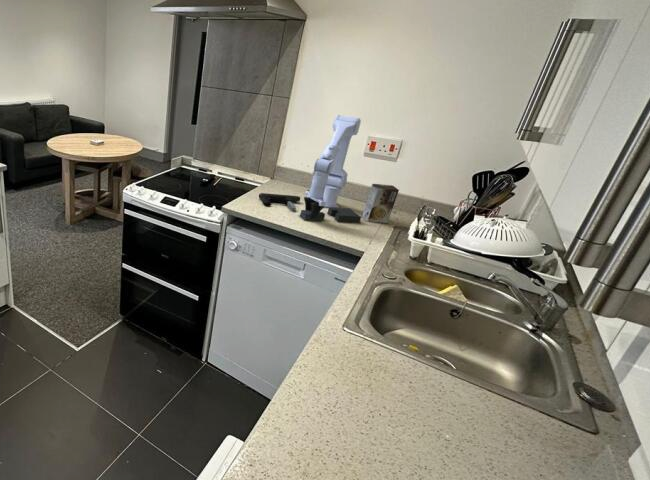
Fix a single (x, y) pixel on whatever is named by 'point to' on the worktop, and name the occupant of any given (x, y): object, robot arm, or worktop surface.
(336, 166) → the robot arm
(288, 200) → the door handle
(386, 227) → the worktop surface
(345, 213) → the notch pad
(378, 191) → the coffee box
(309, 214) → the pad
